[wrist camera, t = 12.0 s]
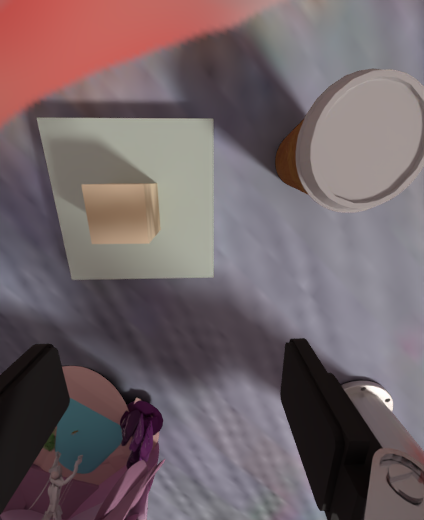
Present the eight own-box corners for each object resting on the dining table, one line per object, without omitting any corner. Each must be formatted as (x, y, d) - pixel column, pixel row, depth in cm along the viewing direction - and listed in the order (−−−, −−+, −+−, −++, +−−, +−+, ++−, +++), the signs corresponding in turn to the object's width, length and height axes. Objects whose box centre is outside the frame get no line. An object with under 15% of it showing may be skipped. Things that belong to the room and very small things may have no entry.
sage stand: (212, 268, 31) (213, 277, 28) (84, 270, 31) (72, 279, 28) (212, 125, 26) (213, 118, 23) (55, 124, 25) (36, 117, 22)
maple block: (160, 229, 26) (149, 243, 21) (115, 230, 26) (91, 244, 20) (157, 183, 25) (143, 184, 19) (109, 183, 24) (81, 184, 19)
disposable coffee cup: (279, 100, 25) (343, 34, 14) (356, 129, 26) (472, 92, 15) (249, 187, 28) (281, 192, 17) (320, 210, 29) (394, 230, 18)
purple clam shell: (136, 316, 39) (-44, 528, 11) (205, 427, 41) (206, 831, 13) (-40, 414, 40) (-624, 844, 12) (38, 517, 42) (-287, 1070, 14)
